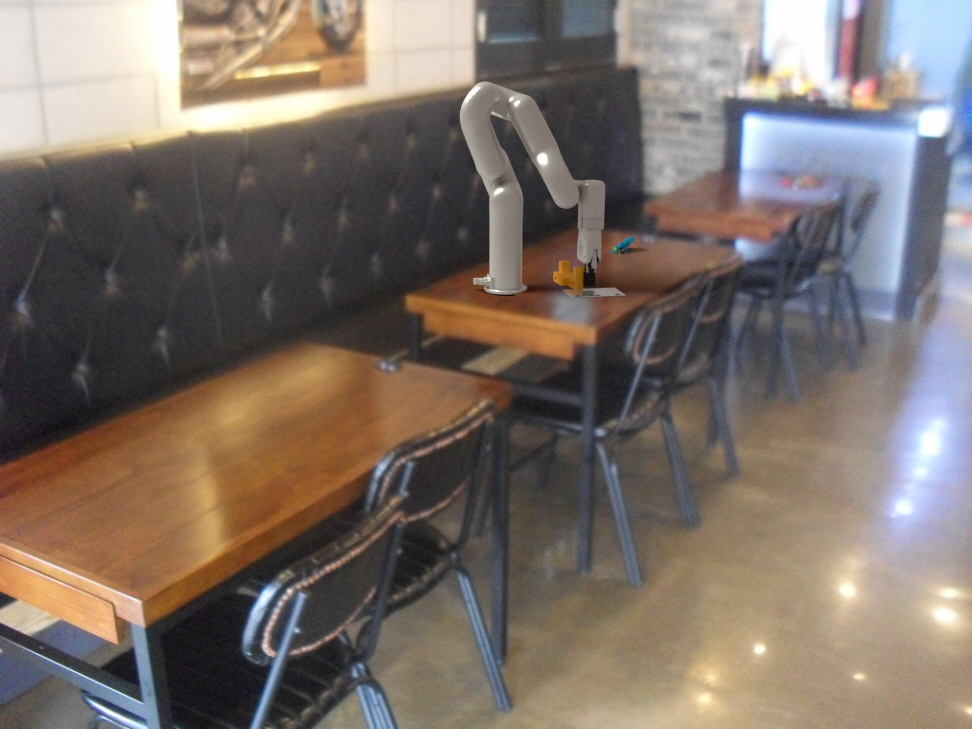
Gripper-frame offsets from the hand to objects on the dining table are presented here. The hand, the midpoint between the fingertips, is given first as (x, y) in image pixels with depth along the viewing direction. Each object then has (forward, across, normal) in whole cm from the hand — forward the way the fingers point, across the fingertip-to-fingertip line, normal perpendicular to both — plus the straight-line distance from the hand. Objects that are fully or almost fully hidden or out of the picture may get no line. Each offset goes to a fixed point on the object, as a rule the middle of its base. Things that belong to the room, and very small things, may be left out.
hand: (589, 285), depth 309 cm
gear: (+2, -46, +23) cm, 52 cm away
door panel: (+1, +5, 0) cm, 5 cm away
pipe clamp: (+2, -7, -5) cm, 8 cm away
